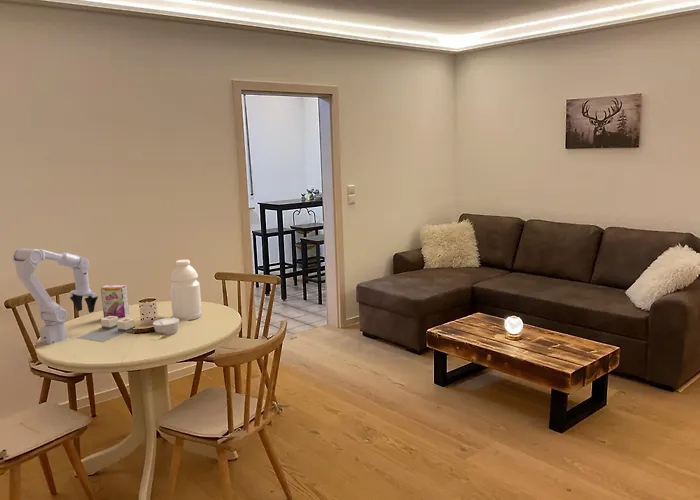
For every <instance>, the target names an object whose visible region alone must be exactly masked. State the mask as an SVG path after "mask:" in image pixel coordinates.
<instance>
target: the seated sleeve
mask: <svg viewBox="0 0 700 500" xmlns="http://www.w3.org/2000/svg"><path fill="white" fill-rule="evenodd" d="M117 327H118V331H122V332H127V333H129V332H132V331H133V330H132V329H133V328H135V327H136V324H135V319H134V318H129V317H123V318H122V319H118V321H117ZM131 330H132V331H131ZM128 331H129V332H128Z"/></svg>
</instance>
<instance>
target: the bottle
mask: <svg viewBox="0 0 700 500" xmlns="http://www.w3.org/2000/svg"><path fill="white" fill-rule="evenodd" d="M190 264H191V260H189V259H179V260H176V261H175V267H174V268H173V270H172V271H171V273H170V276H169V280H170V281H171V284H170V285H169V290H170V291H169V292H170V300H171V301H170V302H171V310H172V318H177V319H179V321H191V320H192V321H193V320H196V319H199V318H201V317H202V315H203V310H202V299H201V297H202V296H201V287H200V286H201V283H200V282H199V281H198V280H197V278H198V277H199V274H198V272H197V271H196V269H195V268H194V267H193V266H192V265H190Z"/></svg>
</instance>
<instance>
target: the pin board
mask: <svg viewBox="0 0 700 500" xmlns="http://www.w3.org/2000/svg"><path fill="white" fill-rule="evenodd" d="M132 331H133V330H131V331H128V332H122V331H118V327H116V328H114V329H111V330H108V329H102V327H101V328H98V329H97V330H94V331H91V332H89V333H86V334H83V335H80V336H78V337H76V339H80V340H87V341H91V342H92V341H93V342H99V343H105V342H107V341H109V340H112V339H115V338H117V337H119V336H121V335H124V334H127V333H129V332H132Z"/></svg>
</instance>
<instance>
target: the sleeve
mask: <svg viewBox="0 0 700 500" xmlns="http://www.w3.org/2000/svg"><path fill="white" fill-rule="evenodd" d="M117 321H119V317H115V316H108V317H105V318H104V317H103V318H100V324H101V325H100V326H101V328H102V329H108V330H111V329H114V328H116V327H117Z"/></svg>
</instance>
